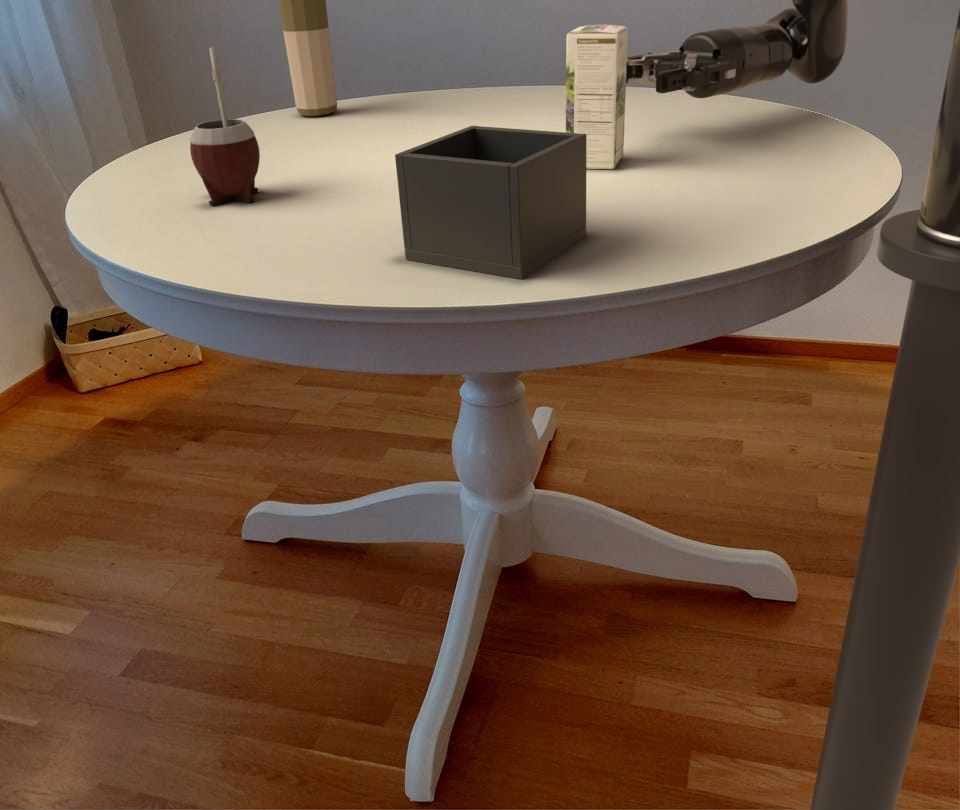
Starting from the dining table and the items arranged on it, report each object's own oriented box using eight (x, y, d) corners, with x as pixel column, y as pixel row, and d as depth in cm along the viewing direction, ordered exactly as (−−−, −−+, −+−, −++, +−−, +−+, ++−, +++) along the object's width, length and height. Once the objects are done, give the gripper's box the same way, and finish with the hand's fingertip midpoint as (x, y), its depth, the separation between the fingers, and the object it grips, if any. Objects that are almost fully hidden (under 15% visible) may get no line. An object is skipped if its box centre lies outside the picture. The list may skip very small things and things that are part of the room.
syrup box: (575, 156, 105) (575, 25, 98) (625, 157, 103) (628, 23, 96) (564, 169, 100) (563, 31, 93) (616, 170, 98) (619, 30, 91)
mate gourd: (228, 211, 92) (197, 59, 85) (184, 201, 97) (151, 56, 90) (283, 193, 97) (258, 49, 90) (238, 185, 102) (212, 46, 95)
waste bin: (586, 236, 79) (586, 133, 74) (521, 279, 70) (517, 166, 66) (477, 221, 84) (471, 125, 80) (405, 259, 76) (394, 154, 72)
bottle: (324, 108, 143) (295, -105, 128) (349, 112, 138) (321, -108, 124) (286, 115, 139) (252, -104, 125) (311, 120, 134) (278, -107, 120)
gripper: (680, 26, 112) (586, 41, 103) (774, 31, 102) (680, 48, 93) (676, 87, 115) (586, 107, 107) (768, 99, 105) (676, 121, 97)
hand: (630, 80), depth 100 cm, fingers open, 8 cm apart
